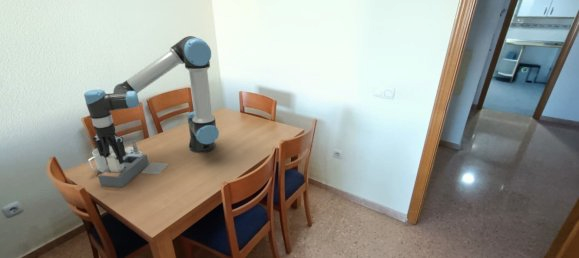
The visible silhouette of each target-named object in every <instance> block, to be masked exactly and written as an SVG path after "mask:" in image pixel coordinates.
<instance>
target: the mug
mask: <svg viewBox="0 0 579 258" xmlns="http://www.w3.org/2000/svg"><path fill="white" fill-rule="evenodd" d="M109 150H110V155H111V154H112V153H114V151H113V149H112V147H111V146H110V145H109ZM102 153H103V152H102ZM91 154H92V157H90V158H89V159H87V161H88V163H89V166H90V168H91V169H92V170H95V171H99V172H101V173H102V172H104V171H105V170H106V169H107V168H109V165H108V163H107V162H106V159H105V157H104V156H100V154H99V152H98V149H97V148H95V149H94V150H93V151H92V153H91ZM114 154H115V153H114ZM93 160H94V163H95V165H96V168H95V167H94V165H93V163H92V161H93Z"/></svg>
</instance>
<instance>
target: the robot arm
mask: <svg viewBox="0 0 579 258" xmlns="http://www.w3.org/2000/svg"><path fill="white" fill-rule="evenodd" d="M211 58H212V49H211V47H210V46H209V44H208V43H207V42H206V41H205V40H203V39H202V38H199V37H195V36H193V35H192V36H191V35H189V36H185V37H183V38H182V39H180V40H179V41H178V42H176V43H175V44H174V45H172V46H171V47H170V48H169V51H168V52H166V53H165V54H163V55H161V56H160V57H159V58H157V59H156V60H154V61H153V62H151V63H150V64H148V65H147V66H145V67H144V68H142V69H141V70H139V71H138V72H137V73H135V74H133V75H132V76H130V77H129V78H128V79H126V80H125V81H123V82H121V83H118V84H116V85H115V86H114V88H113V92H112V93H106V91H105V90H104V89H102V88H101V89H91V90H87V91H86V92H85V93H84V95H83V97H84V100H85V105H86V107H87V111H88V113H89V115H90V116H89V117H90V119H91V121H92V122H91V123H92V126H93V127H94V129H93V130H94V132H95V134H96V135H95V136H94V137H92V140H93V141H94V144H95V145H96V149H98V152H99V154H100V156H104V157H105V159H106V162H107V158H106V157H108V156H109V155H110V150H109V146H111V147H112V149H113V151H114V154H115V155H116V157H117V158H116V162H117V165H118V168H119V171H121V170H122V169H123V168H124V165H123V163H124V161H123V157H124V156H125V155H126V152H125V148H126V147H125V144H124V137H123V136H118V135H117V134H116V126H115V124H114V120H113V116H112V113H111V111H119V110H126V109H133V108H137V107H139V106H140V101H139V97H138V93H139V92H142V90H144V89H145V88H147V87H148V86H150V85H151V84H153V83H154V82H156V81H157V80H159V79H160V78H161V77H163V76H164V75H166V74H167V73H168V72H170V71H172V70H173V69H174V68H176V67H178V65H181V64H182V65H184V69H186V70H187V71H188V74H189V81H190V82H189V83H190V87H191V88H190V89H191V95H192V104H193V111H191V112H188V113H187V116H186V119H187V124H188V129H189V143H188V149H189V151H190V152H193V153H197V154H198V153H199V154H200V153H208V152H211V151H212V150H214V149H215V147H216V140H217V139H218V138H219V136H220V131H219V129H218V127H217V122H216V117H215V115H213V113H212V112H213V111H212V104H211V94H210V93H211V92H210V84H209V74H208V70H209V69H210V68H211V63H210V62H211V61H210V60H211ZM102 152H103V153H102ZM107 163H108V162H107Z"/></svg>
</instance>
